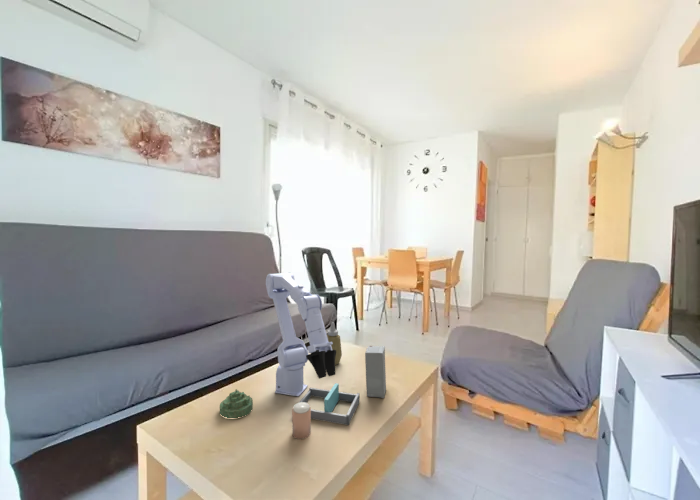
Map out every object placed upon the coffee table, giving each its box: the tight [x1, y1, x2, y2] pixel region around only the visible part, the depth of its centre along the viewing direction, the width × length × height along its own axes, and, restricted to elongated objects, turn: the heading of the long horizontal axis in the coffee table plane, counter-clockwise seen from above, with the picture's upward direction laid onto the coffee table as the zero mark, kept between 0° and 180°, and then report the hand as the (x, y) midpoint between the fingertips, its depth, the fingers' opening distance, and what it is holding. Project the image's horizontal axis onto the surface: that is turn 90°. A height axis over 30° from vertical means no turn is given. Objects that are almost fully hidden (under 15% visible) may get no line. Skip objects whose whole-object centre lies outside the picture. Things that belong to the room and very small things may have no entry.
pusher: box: [323, 382, 340, 413], centre depth 103 cm, size 1×11×6 cm, turn 165°
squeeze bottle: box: [327, 321, 343, 366], centre depth 140 cm, size 8×8×18 cm
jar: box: [291, 401, 312, 440], centre depth 91 cm, size 5×5×8 cm
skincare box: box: [364, 345, 387, 399], centre depth 114 cm, size 8×7×16 cm
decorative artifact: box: [219, 388, 254, 419], centre depth 102 cm, size 10×7×10 cm
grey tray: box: [298, 387, 360, 426], centre depth 104 cm, size 18×14×3 cm
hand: (327, 376), depth 95 cm, fingers open, 7 cm apart
